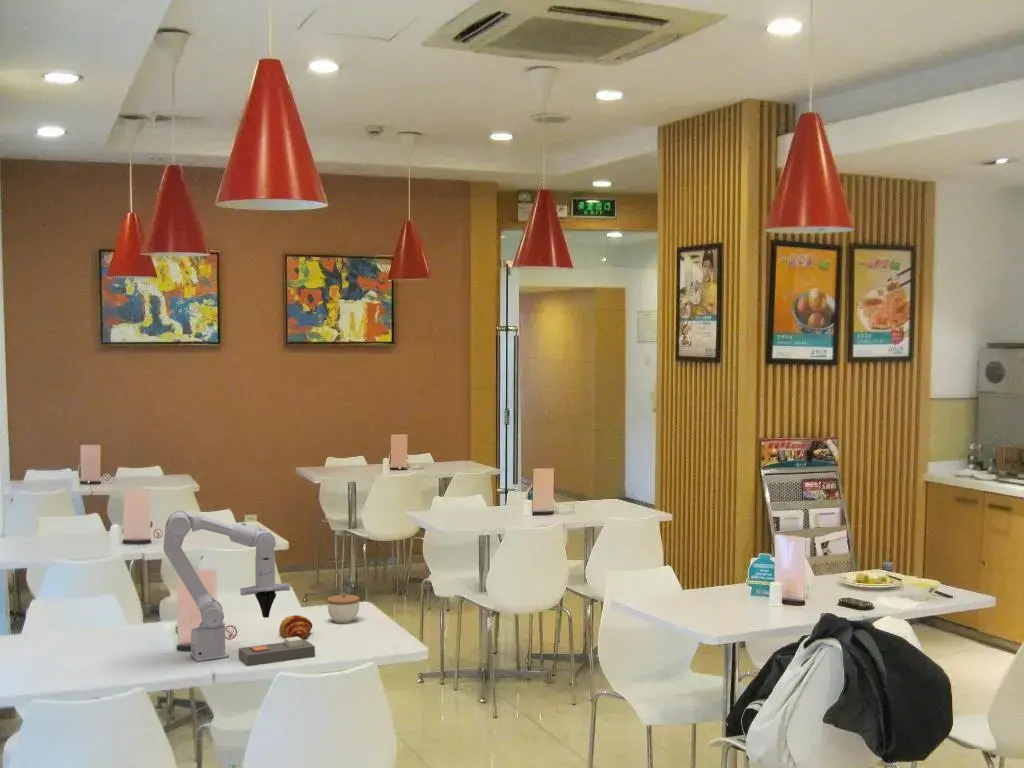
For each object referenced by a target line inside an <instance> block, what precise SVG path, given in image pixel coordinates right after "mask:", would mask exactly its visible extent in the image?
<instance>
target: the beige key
mask: <svg viewBox="0 0 1024 768" xmlns="http://www.w3.org/2000/svg"><path fill="white" fill-rule="evenodd" d="M302 640H303V639H301V638H299V637H290V638H285V637H284V642H285V646H286V647H287V648H292V647H299V646H302Z"/></svg>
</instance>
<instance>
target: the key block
mask: <svg viewBox="0 0 1024 768" xmlns="http://www.w3.org/2000/svg"><path fill="white" fill-rule="evenodd" d="M257 646H258V645H253V646H247V647H246V646H245V647H238V659H239V660H240V661H241V662H242V663H243V664H244V665H245V666H246V667H250V666H257V665H258V666H259V665H264V664H270V663H279V662H285V661H293V660H299V659H306V658H312V657H313V658H314V657H315V656H316V646H315V645H314V644H312V643H311V642H310V641H308V640H306V639H302V646H299V647H292V648H287V647H286V646H285V641H284V642H276V643H270V644H269V643H268V644H262V645H260V644H259V646H266V647H267V648H269V651H262V652H255V653H254V652H253V651H252V650H251V647H257Z"/></svg>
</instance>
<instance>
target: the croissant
mask: <svg viewBox="0 0 1024 768" xmlns="http://www.w3.org/2000/svg"><path fill="white" fill-rule="evenodd" d="M312 628H313V623H312V622H311V621H310V619H309V618H308V617H306V616H303V615H300V614H297V615H290V616H287V617H285V618H284V619H283V620H282V621H281V623H280V625H279V631H278V632H279V634H280V635H282V636H283V637H284V638H285V637H286V638H290V637H299V638H301V639H302V640H306V638H307V637H308V636H309V635H310V634H311V630H312Z"/></svg>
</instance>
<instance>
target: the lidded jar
mask: <svg viewBox="0 0 1024 768" xmlns="http://www.w3.org/2000/svg"><path fill="white" fill-rule="evenodd" d="M326 601H327V612H328V615H329V617H330V618H331V619H332V620H333V621H335V622H334V623H336V622H337V624H348V622H349V623H352V622H353V621H354V619H356V617H357V616H358V613H359V609H360V596H358V595H355V594H346V593H345V592H341V594H338V595H332V596H329V597H327V599H326Z"/></svg>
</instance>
